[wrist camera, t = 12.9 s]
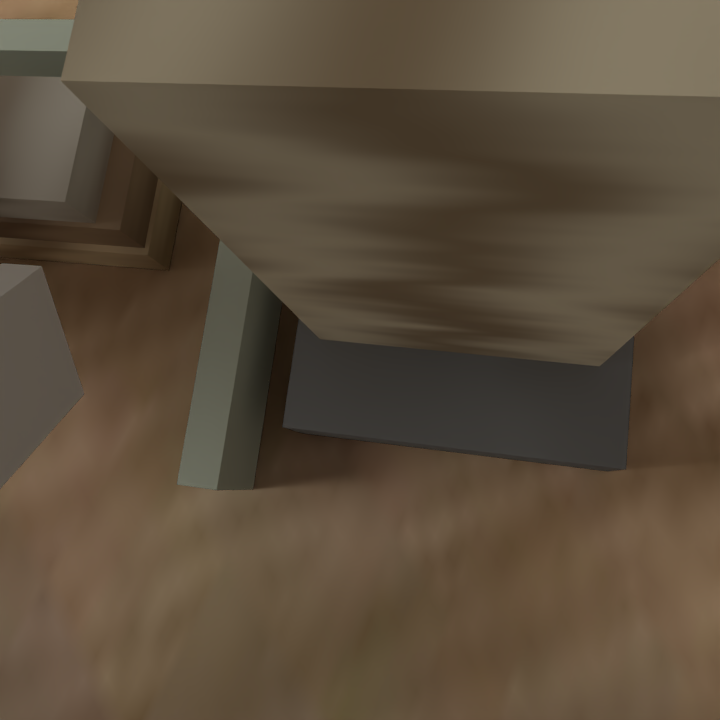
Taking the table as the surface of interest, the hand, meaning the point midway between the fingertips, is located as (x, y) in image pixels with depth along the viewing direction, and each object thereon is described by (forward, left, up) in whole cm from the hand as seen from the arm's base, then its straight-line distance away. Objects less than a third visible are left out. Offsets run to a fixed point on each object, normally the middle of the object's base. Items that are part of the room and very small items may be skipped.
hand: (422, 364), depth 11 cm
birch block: (-1, +4, -13) cm, 13 cm away
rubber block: (-1, +4, -16) cm, 16 cm away
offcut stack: (-21, +2, -16) cm, 26 cm away
